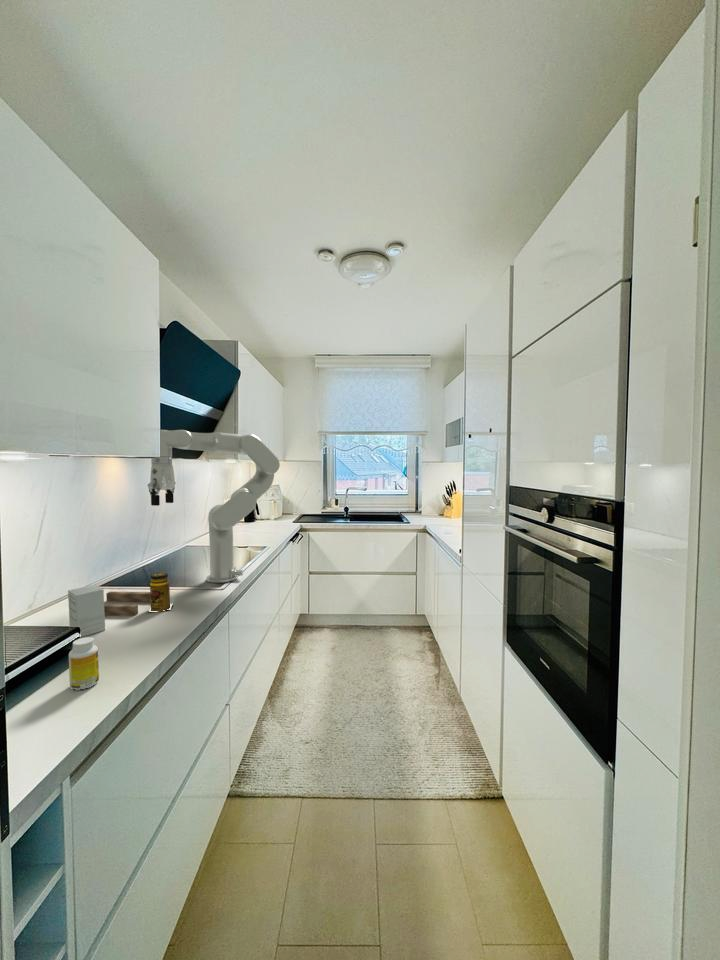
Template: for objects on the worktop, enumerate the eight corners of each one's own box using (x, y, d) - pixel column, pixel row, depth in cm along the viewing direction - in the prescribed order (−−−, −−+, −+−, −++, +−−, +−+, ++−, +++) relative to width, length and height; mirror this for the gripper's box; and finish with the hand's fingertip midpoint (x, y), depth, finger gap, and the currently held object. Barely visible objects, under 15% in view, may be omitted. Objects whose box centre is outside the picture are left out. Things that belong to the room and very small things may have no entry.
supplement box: (96, 624, 131) (95, 584, 130) (105, 630, 126) (104, 588, 125) (69, 631, 125) (67, 589, 125) (77, 638, 121) (75, 595, 120)
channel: (158, 600, 153) (158, 592, 153) (134, 615, 138) (134, 606, 138) (110, 599, 154) (109, 591, 154) (81, 614, 139) (80, 605, 139)
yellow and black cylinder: (147, 613, 140) (146, 577, 139) (151, 605, 148) (150, 571, 148) (171, 611, 142) (170, 576, 142) (174, 603, 150) (173, 569, 150)
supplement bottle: (102, 684, 96) (100, 640, 96) (73, 694, 92) (71, 648, 91) (95, 675, 100) (93, 633, 99) (67, 685, 96) (65, 641, 95)
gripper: (157, 461, 159) (158, 506, 160) (182, 461, 176) (183, 502, 177) (139, 461, 160) (140, 506, 160) (165, 461, 177) (166, 501, 178)
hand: (162, 504), depth 169 cm, fingers open, 9 cm apart
